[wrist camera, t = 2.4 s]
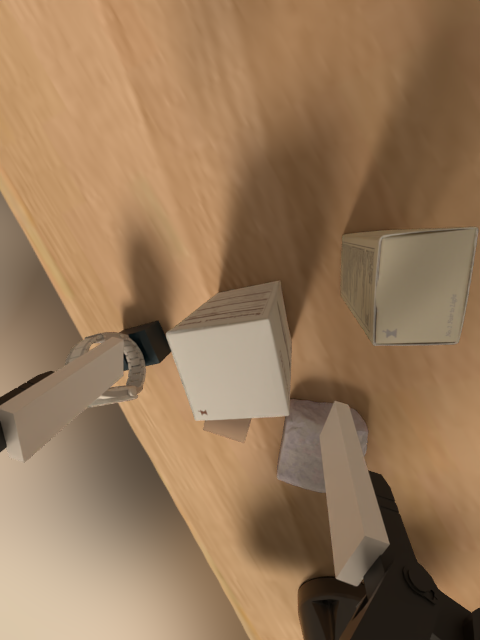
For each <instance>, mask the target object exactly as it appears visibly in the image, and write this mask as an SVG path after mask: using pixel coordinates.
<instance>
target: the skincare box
mask: <svg viewBox="0 0 480 640" xmlns="http://www.w3.org/2000/svg"><path fill="white" fill-rule="evenodd" d="M477 238H478V228H477V227H456V228H429V229H398V230H381V231H370V232H359V233H350V234H344V235H343V236H342V252H341V297H342V298H343V300H344V301H345V303H346V304H347V306H348V308H349V309H350V311H351V312H352V314H353V315H354V317H355V318H356V320H357V321H358V323H359V324H360V326H361V327H362V329H363V330H364V332H365V333H366V335H367V336H368V338H369V339H370V341H371V342H372V344H373V345H374V346H379V345H384V346H411V345H424V346H425V345H453V344H457V343H458V342H459V340H460V335H461V331H462V327H463V322H464V317H465V312H466V306H467V301H468V296H469V288H470V283H471V277H472V271H473V265H474V257H475V252H476V245H477Z"/></svg>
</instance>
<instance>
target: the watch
mask: <svg viewBox="0 0 480 640" xmlns="http://www.w3.org/2000/svg"><path fill="white" fill-rule="evenodd" d="M111 337H116V338H119V339H123V340H124V348H123V371H125V370H129V374H128V377H129V378H128V380H127V383H126V385H125V386H118V387H111V388H109V389H108V390H106V391H105V392H104V393H103V394H102V395H101V396H100V397H99V398H97V399H96V400H95V401H94V402H93V403H92V404H91V405H89V406H88V407H95V406H101V405H107V404H113V403H118V402H124V401H129V400H133V399H136V398H138V395H137V394H138V393H140V392H141V391H142V389H143V383H144V381H145V374H146V368H145V366H149V365H153V364H158V363H160V362H161V361H162V360H163V359H164V358H165V357H166V356H167V355H168V354H169V353H170V352H171V349H170V346H169V343H168V341H167V339H166V337H165V334H164V332H163V330H162V327H161V325H160V323H159V321H155V322H151V323H148V324H144V325H140V326H137V327H133V328H130V329H126V330H123V331H121V332H119V333H117V332H106V333H100V334H96V335H92V336H89V337H85V339H84V340H81V341H80V342H78V343H77V344H76V345H75V346H74V347H73V348H72V349H71V351H70V353H69V354H68V357H67V359H66V363H65V365H67V364H69V363H70V362H72V361H74V360H75V359H77V358H78V357H80V356H82V355H83V354H85V353H87V352H88V351H87V350H89V348H90V346H91V345H92V344H93V343H103V342H105V341H106V340H108V339H109V338H111ZM142 367H143V368H142Z"/></svg>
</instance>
